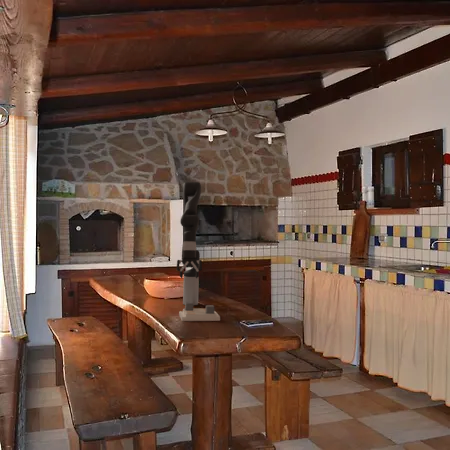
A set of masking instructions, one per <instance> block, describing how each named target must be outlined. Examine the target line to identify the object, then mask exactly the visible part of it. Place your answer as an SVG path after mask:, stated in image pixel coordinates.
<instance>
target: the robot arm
mask: <svg viewBox="0 0 450 450" xmlns="http://www.w3.org/2000/svg"><path fill="white" fill-rule="evenodd" d="M201 194H202V185H201V183H200V182H199V181H185V182H184V183H183V185H182V198H183V207H182V209H183V211H182V212H183V213H182V216H181V217H180V221H179V222H180V225H181V226H182V248H181V259H177V260H176V271H178V272H179V277H180V279H183V284H182V285H183V289H182V290H183V292H182V293H183V294H182V296H183V297H182V304H183V305H185V302H193V306H198V305H199V281H200V280H199V277H200V273H199V272H201V271H202V270H203V264H202V260H201V259H200V257H201V256H200V255H201V253H200V251H199V249H198V250H197V242H196V241H197V240H196V236H197V231H198V228H199V224H200V219H199V218H200V217H199V216H198V215H197V212H198V205H199V201H200V199H201ZM190 197H191V198H190ZM189 198H190V199H189ZM181 264H182V266H181V267H180V265H181ZM185 268H190V269H188V270H187V269H186V270H185V271H184V269H185Z"/></svg>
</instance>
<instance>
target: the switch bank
mask: <svg viewBox="0 0 450 450" xmlns="http://www.w3.org/2000/svg"><path fill="white" fill-rule="evenodd" d="M178 316H179V318H180V320H181V321H182V322H212V321H213V322H214V321H215V322H216V321H217V322H218V321H221V315H220V314H218V312H216V311H215V310H214V314H206V307H205V308H193V311H185V308H183V309H182V311H181V310H180V311H179V312H178Z"/></svg>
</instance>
